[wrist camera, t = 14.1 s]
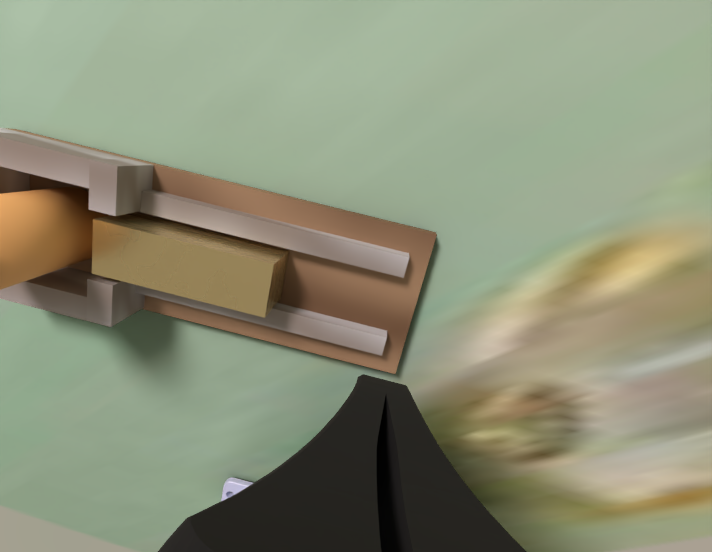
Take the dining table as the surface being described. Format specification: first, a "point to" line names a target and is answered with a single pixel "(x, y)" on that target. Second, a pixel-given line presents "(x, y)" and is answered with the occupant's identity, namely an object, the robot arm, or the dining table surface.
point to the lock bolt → (189, 262)
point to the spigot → (43, 232)
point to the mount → (244, 221)
